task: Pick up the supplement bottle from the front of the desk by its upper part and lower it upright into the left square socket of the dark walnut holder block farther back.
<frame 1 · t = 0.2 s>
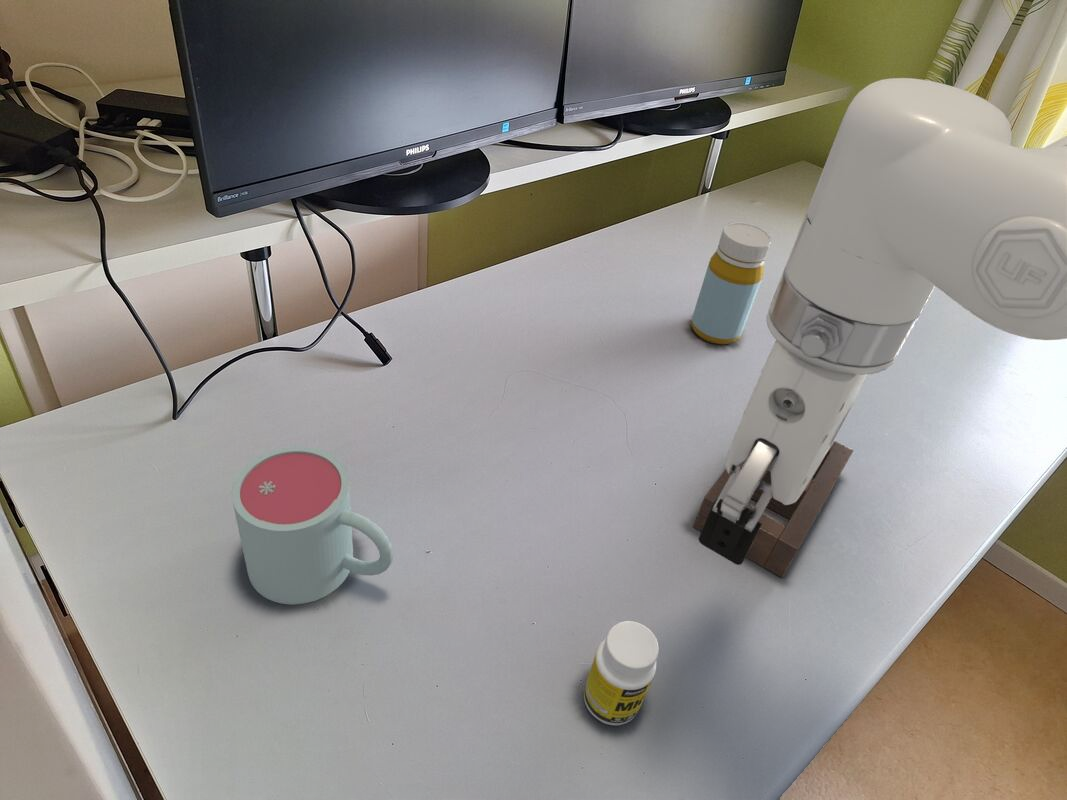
hand: (748, 509, 54), 19 cm above the table, tool pointing down, fingers open, 9 cm apart
supplement bottle: (611, 699, 63), on the table
mug: (323, 570, 69), on the table
bottle: (714, 332, 105), on the table
holder: (768, 501, 81), on the table
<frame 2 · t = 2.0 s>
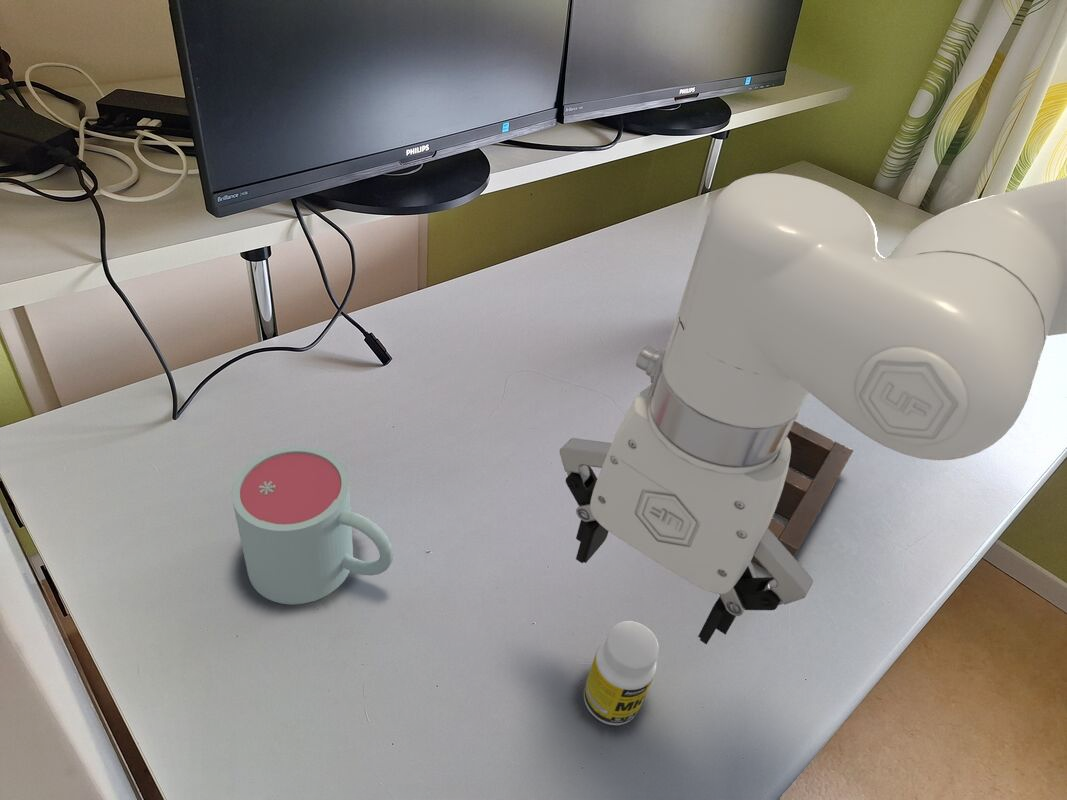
hand: (649, 587, 53), 15 cm above the table, tool pointing down, fingers open, 9 cm apart
nothing on the table moved.
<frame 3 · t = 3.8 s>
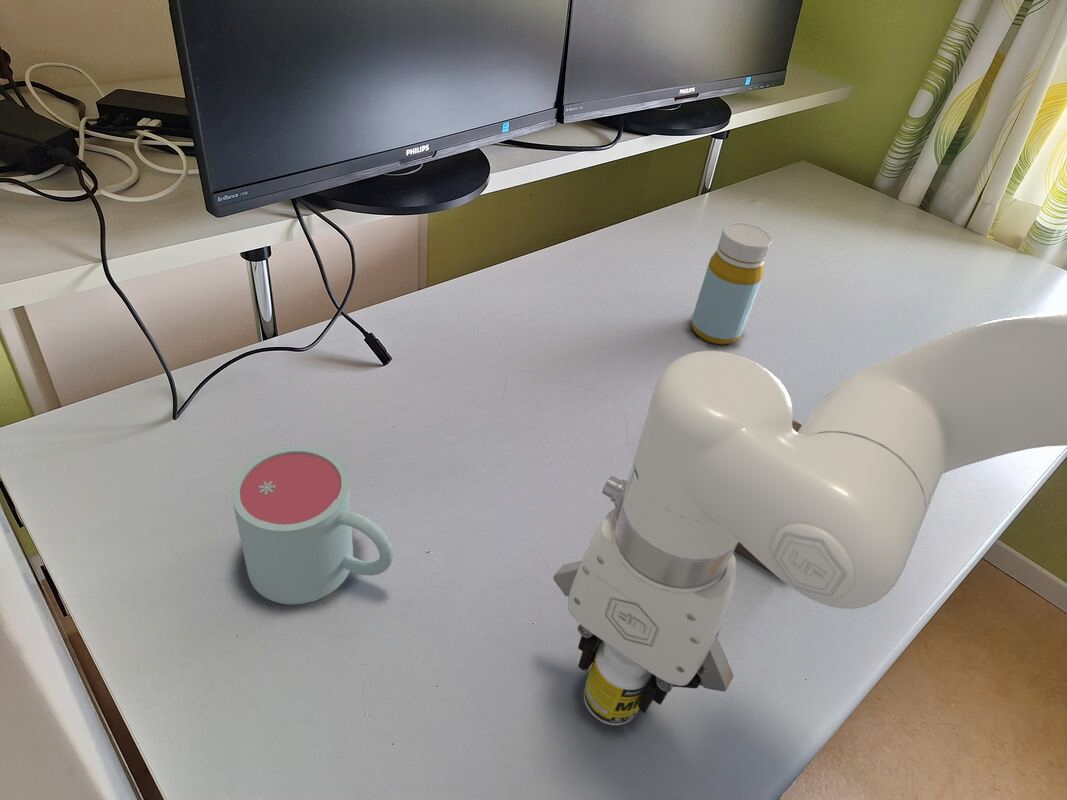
hand: (620, 675, 60), 4 cm above the table, tool pointing down, fingers closed on supplement bottle, 4 cm apart
supplement bottle: (611, 699, 63), on the table, touching gripper
everything else where it was.
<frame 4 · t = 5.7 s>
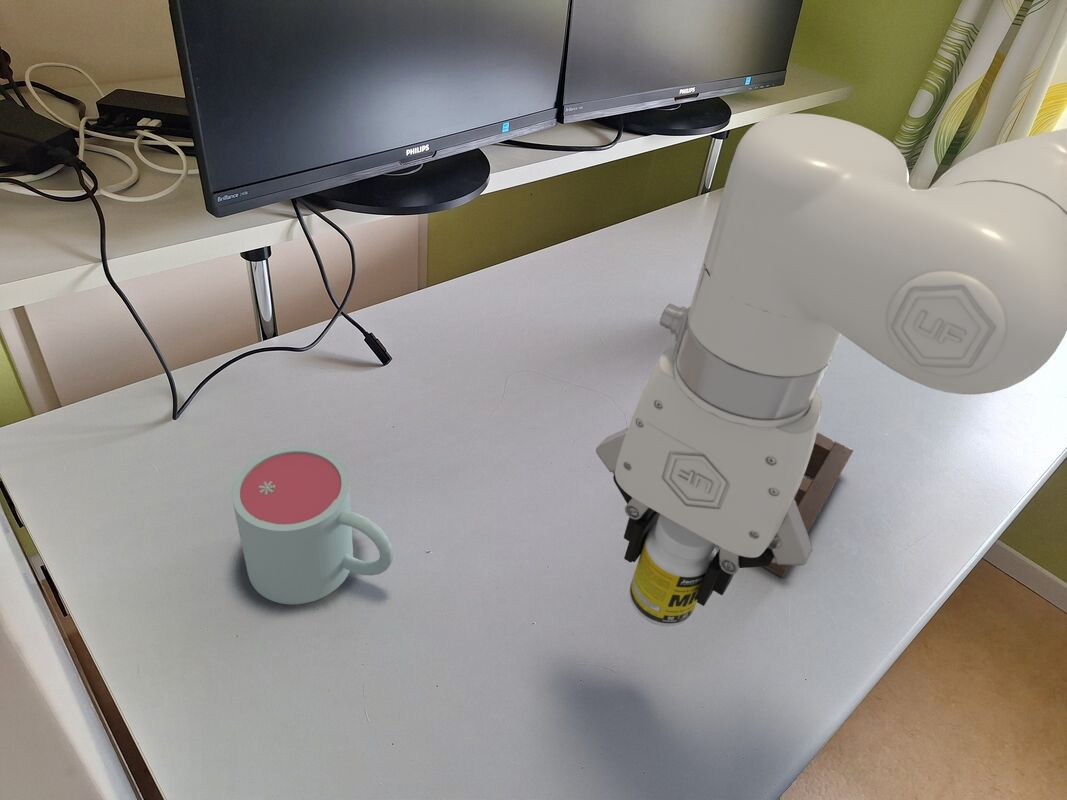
hand: (673, 567, 52), 17 cm above the table, tool pointing down, fingers closed on supplement bottle, 4 cm apart
supplement bottle: (660, 601, 55), point 13 cm above the table, touching gripper
everything else where it was.
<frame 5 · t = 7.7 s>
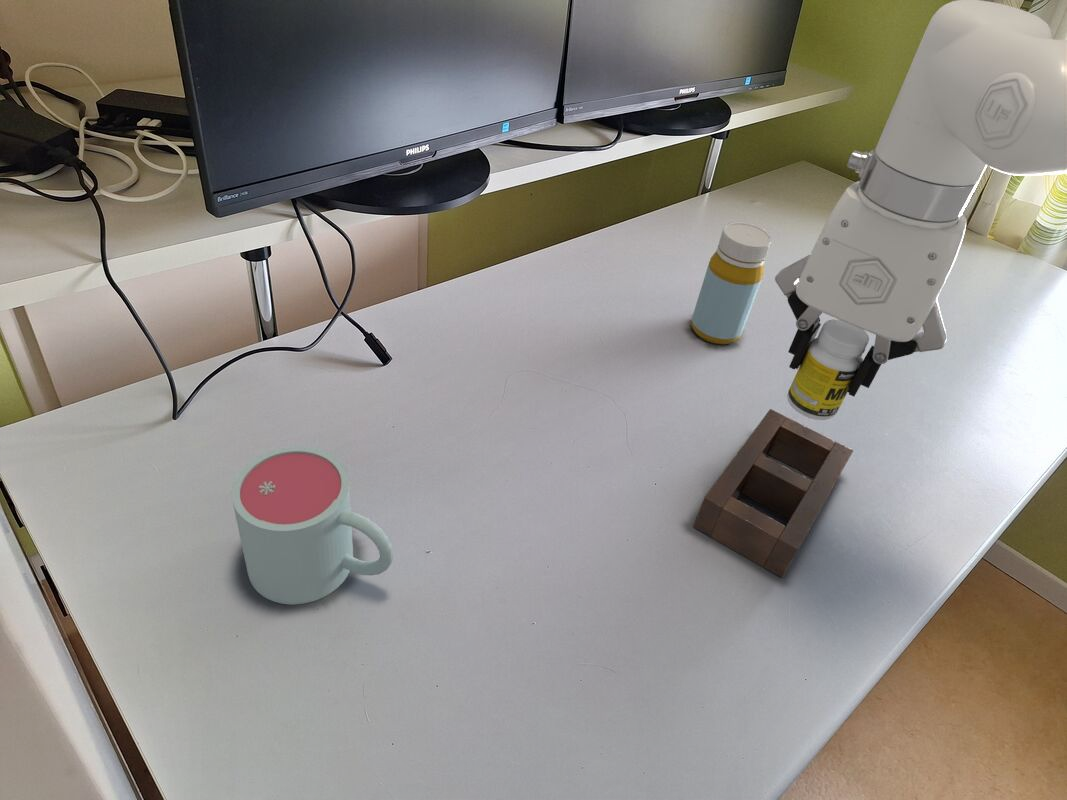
hand: (826, 373, 69), 18 cm above the table, tool pointing down, fingers closed on supplement bottle, 4 cm apart
supplement bottle: (810, 406, 71), point 14 cm above the table, touching gripper
everything else where it was.
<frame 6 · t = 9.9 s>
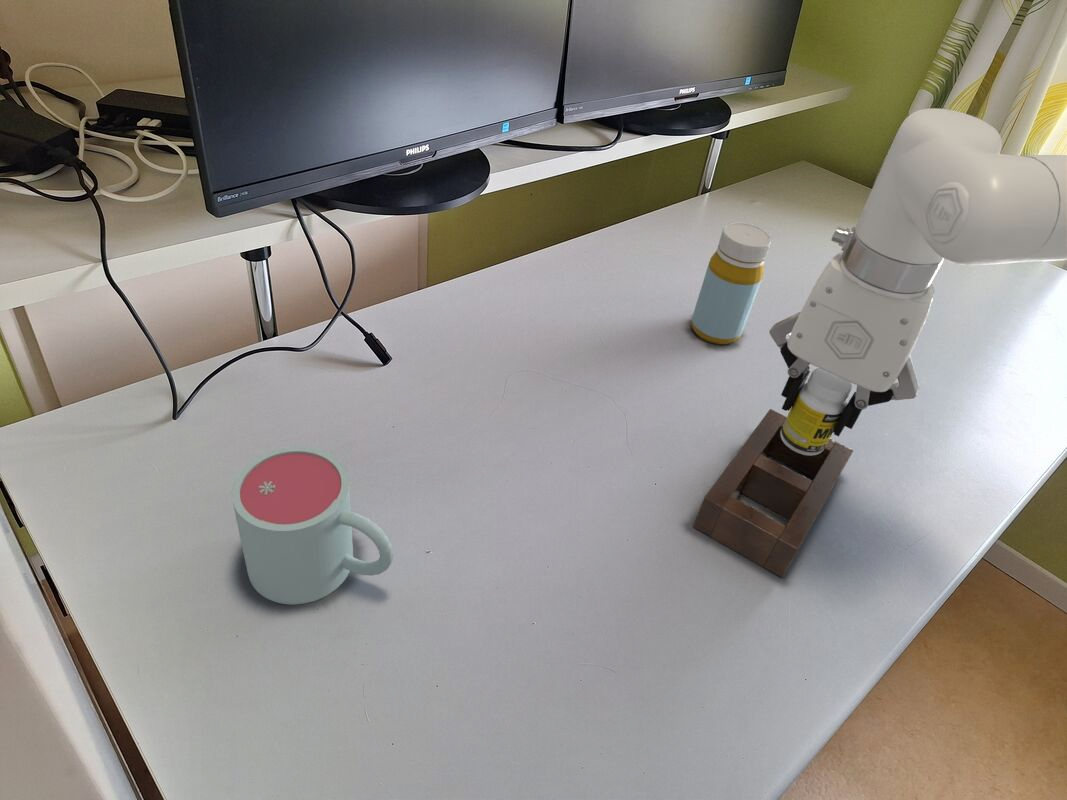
hand: (814, 414, 77), 10 cm above the table, tool pointing down, fingers closed on supplement bottle, 4 cm apart
supplement bottle: (801, 442, 80), point 6 cm above the table, touching gripper
everything else where it was.
when the fingers open (6 cm above the table, at t = 11.7 s): supplement bottle drops 2 cm, resting in holder.
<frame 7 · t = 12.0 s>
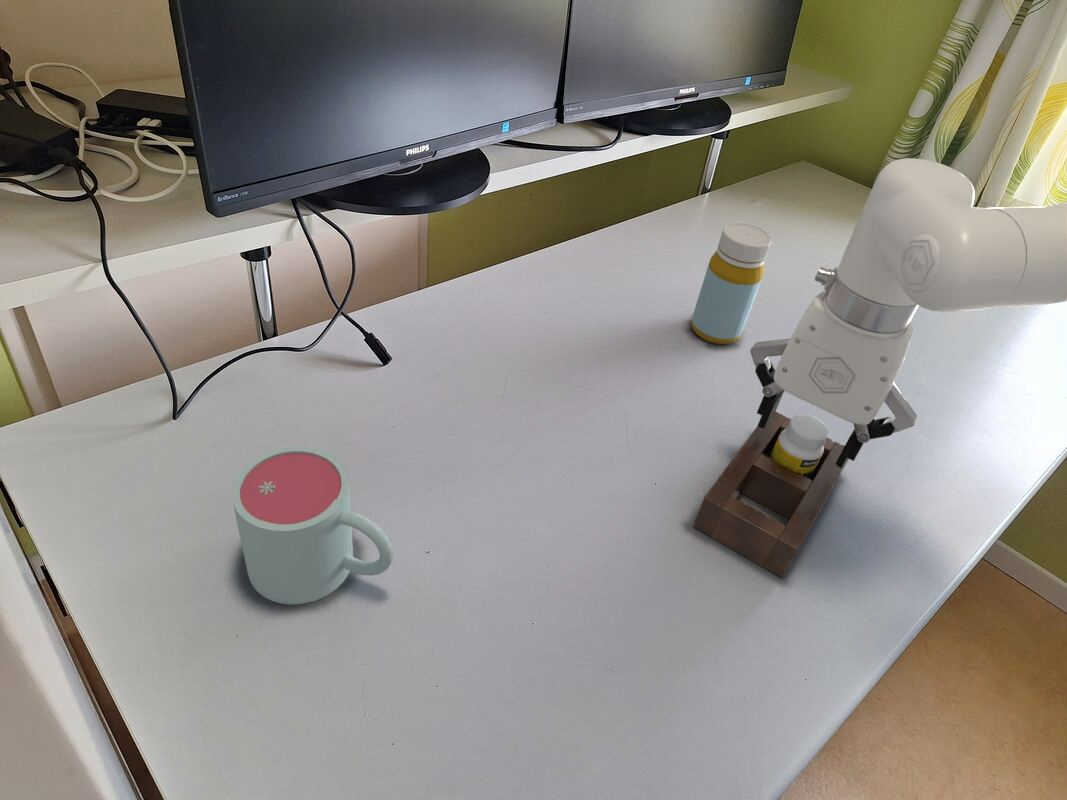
hand: (803, 439, 80), 7 cm above the table, tool pointing down, fingers open, 8 cm apart
supplement bottle: (781, 483, 84), resting in holder
everything else where it was.
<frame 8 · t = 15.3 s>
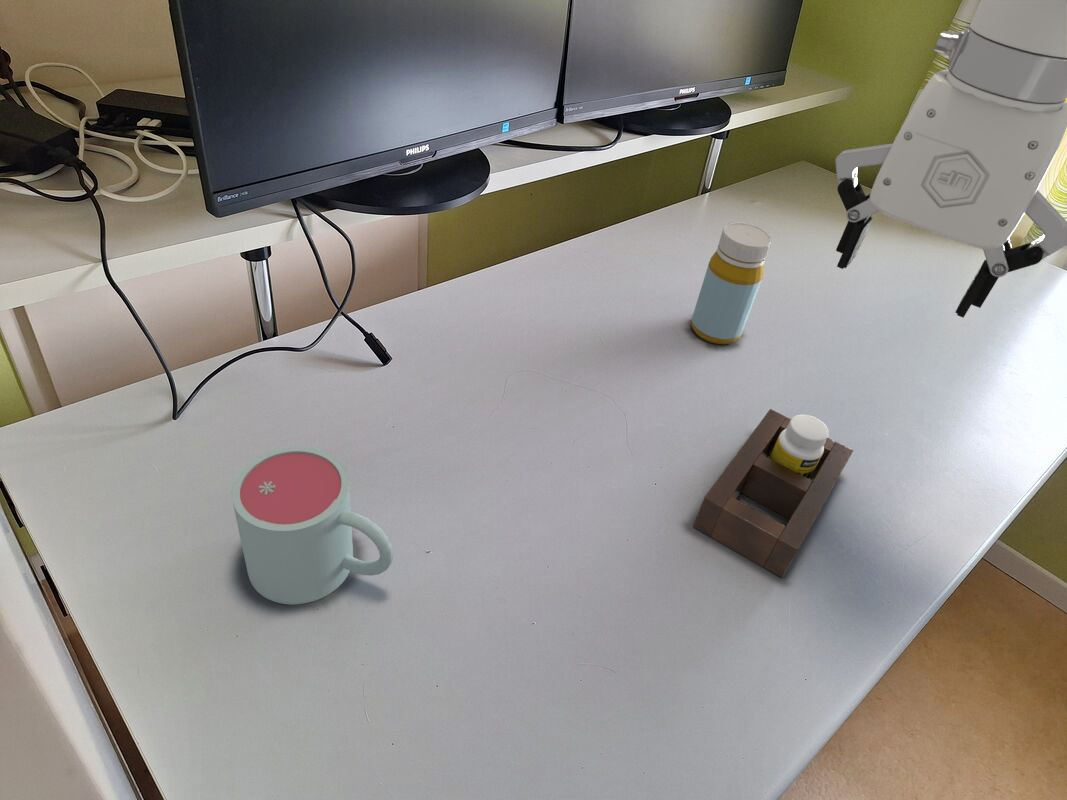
hand: (902, 285, 62), 28 cm above the table, tool pointing down, fingers open, 9 cm apart
nothing on the table moved.
at the end: supplement bottle 0.2 cm from the target spot in the holder, point 0.0 cm above the holder's base; supplement bottle tilted 0° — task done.
